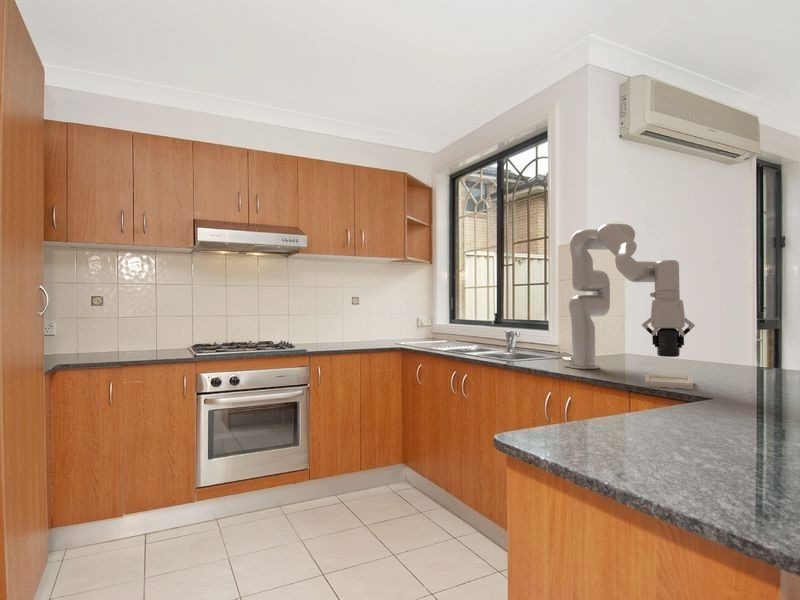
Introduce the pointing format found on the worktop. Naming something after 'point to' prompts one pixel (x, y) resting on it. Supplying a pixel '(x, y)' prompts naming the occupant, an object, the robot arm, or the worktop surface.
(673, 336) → the supplement bottle
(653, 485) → the worktop surface
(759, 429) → the worktop surface
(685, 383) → the dish
